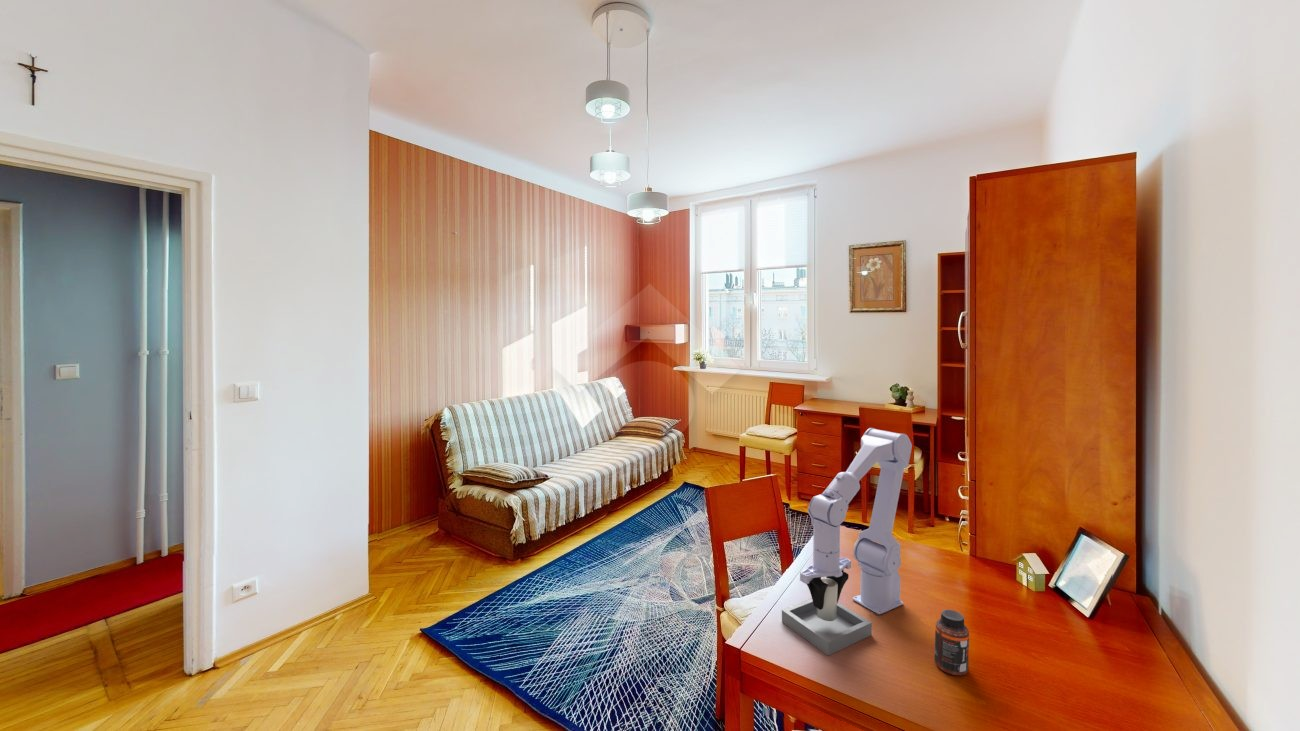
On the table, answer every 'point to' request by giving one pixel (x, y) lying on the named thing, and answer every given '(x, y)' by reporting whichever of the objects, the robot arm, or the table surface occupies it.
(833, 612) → the cup
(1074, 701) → the table surface
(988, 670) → the table surface
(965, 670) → the supplement bottle
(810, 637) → the tray
